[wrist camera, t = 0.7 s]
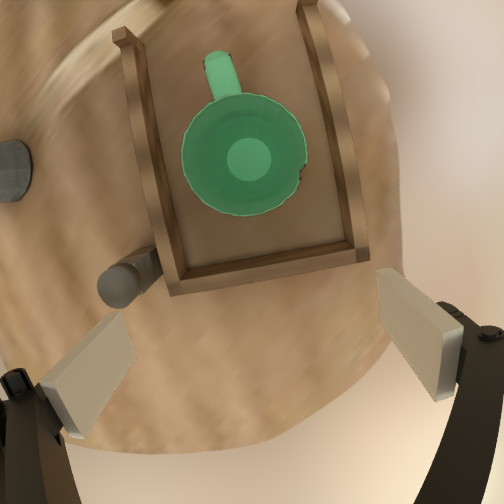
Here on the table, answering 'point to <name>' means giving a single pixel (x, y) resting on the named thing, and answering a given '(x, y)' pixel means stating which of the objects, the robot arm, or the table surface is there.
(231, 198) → the mug
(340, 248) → the bay
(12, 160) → the moka pot
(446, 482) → the robot arm
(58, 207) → the table surface
